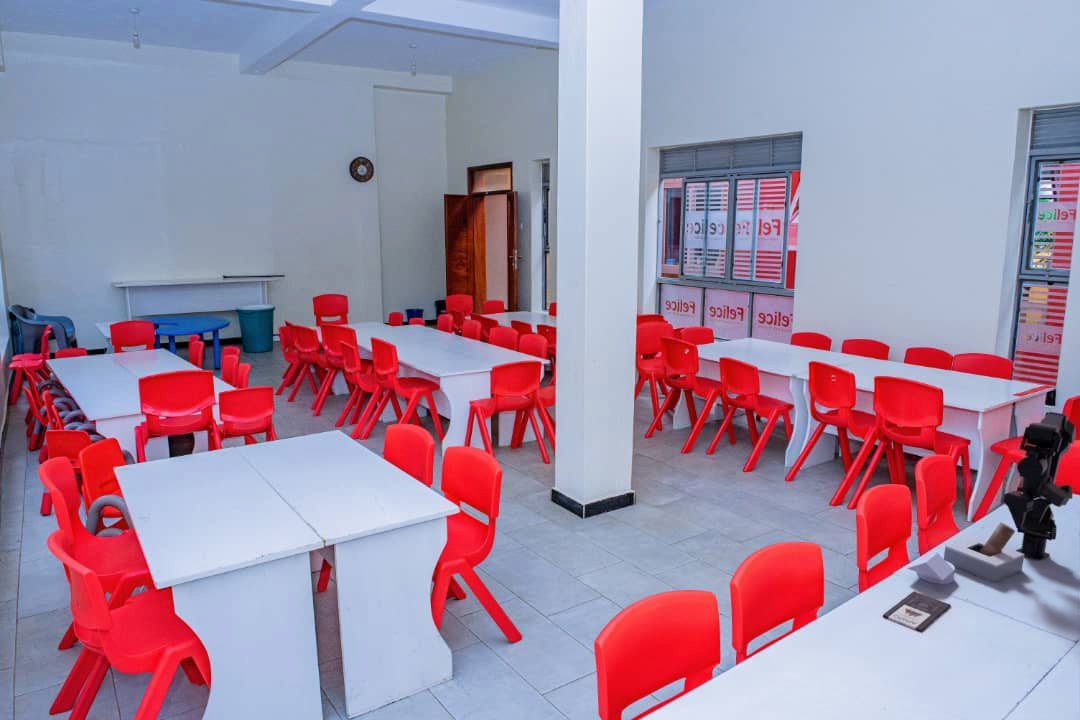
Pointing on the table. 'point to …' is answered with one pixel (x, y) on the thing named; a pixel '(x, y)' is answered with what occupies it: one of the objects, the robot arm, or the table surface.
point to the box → (983, 559)
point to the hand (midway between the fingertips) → (1027, 525)
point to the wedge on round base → (934, 569)
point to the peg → (997, 540)
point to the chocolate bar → (916, 611)
